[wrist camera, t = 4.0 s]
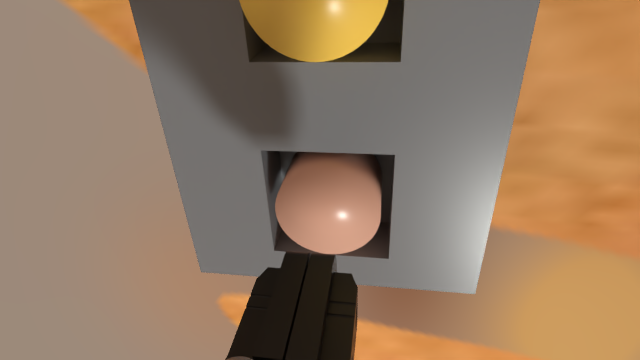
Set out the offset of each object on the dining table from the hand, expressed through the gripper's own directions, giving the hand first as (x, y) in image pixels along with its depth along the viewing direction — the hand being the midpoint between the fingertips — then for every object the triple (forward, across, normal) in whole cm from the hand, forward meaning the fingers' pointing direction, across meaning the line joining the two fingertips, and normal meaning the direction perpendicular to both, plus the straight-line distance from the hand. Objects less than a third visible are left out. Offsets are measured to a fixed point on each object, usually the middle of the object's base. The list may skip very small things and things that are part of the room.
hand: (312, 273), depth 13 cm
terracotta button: (+6, 0, 0) cm, 6 cm away
